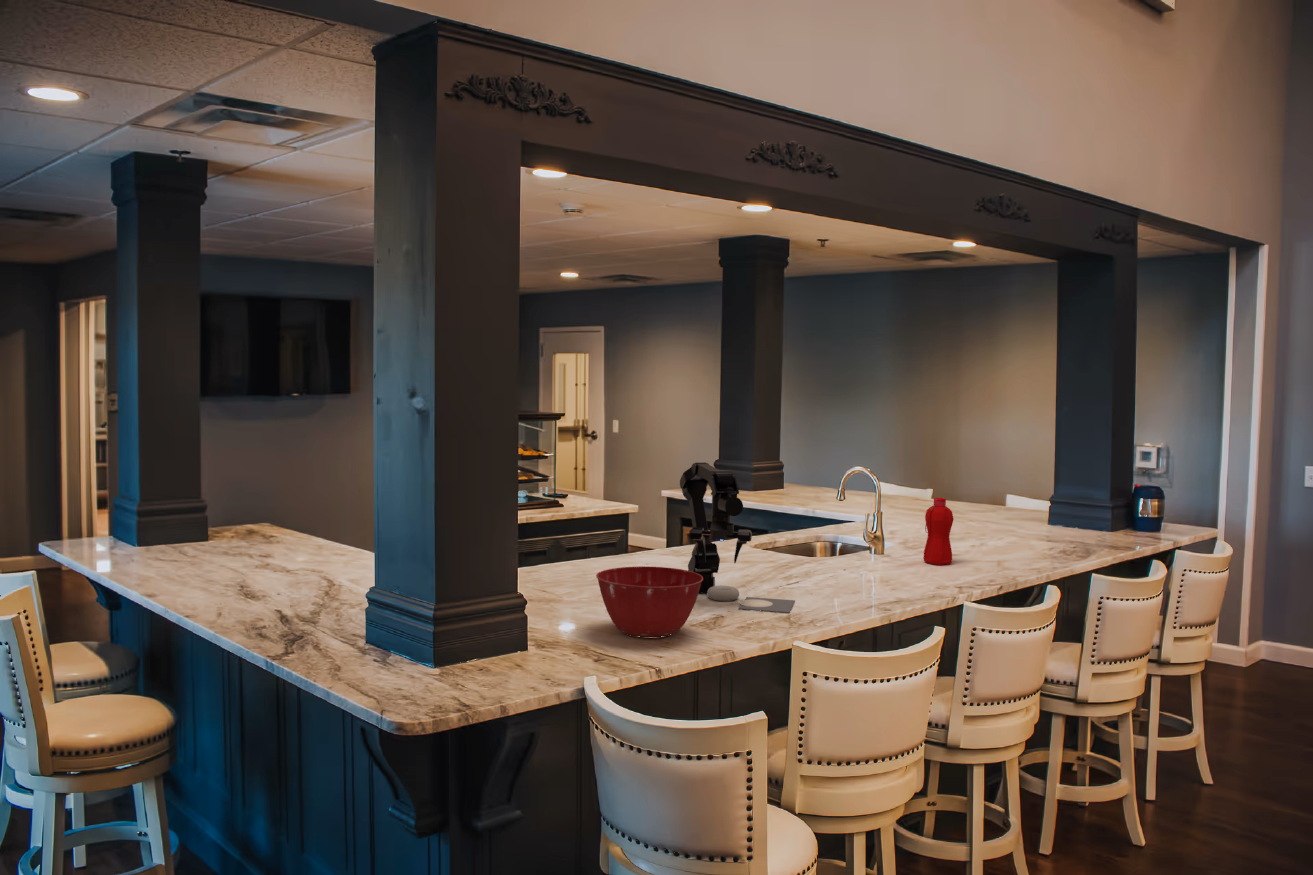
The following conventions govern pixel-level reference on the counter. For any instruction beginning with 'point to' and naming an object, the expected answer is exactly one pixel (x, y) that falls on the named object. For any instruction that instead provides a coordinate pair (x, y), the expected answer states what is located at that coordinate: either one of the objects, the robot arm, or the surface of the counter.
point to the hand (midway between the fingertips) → (719, 562)
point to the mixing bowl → (649, 598)
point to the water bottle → (938, 533)
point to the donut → (723, 593)
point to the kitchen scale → (767, 604)
